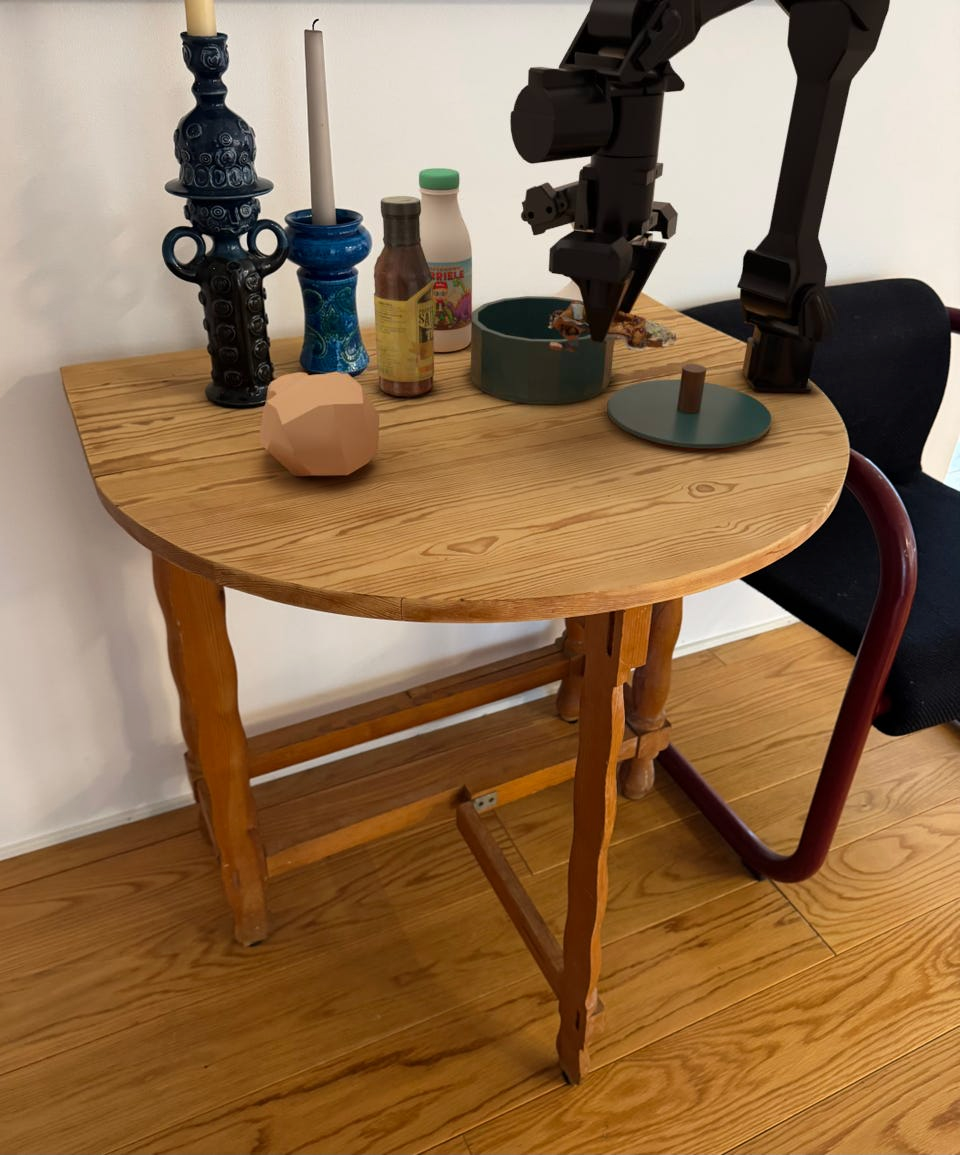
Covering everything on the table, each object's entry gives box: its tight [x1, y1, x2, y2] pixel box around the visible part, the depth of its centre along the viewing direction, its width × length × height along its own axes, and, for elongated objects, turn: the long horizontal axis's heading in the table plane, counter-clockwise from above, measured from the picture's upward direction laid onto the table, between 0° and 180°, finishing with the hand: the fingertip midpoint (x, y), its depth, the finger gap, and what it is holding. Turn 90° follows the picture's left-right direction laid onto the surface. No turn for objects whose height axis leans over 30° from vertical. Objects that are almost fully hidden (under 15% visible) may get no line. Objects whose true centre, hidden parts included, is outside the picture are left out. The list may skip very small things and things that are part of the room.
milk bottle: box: [418, 167, 473, 353], centre depth 112 cm, size 8×8×20 cm
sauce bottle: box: [373, 195, 435, 397], centre depth 100 cm, size 6×6×20 cm
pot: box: [470, 295, 615, 405], centre depth 107 cm, size 16×16×7 cm
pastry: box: [548, 300, 678, 353], centre depth 90 cm, size 7×12×4 cm, turn 89°
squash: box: [257, 371, 380, 477], centre depth 90 cm, size 11×20×9 cm, turn 24°
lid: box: [606, 363, 772, 449], centre depth 98 cm, size 17×17×6 cm
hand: (609, 330), depth 90 cm, fingers closed on pastry, 6 cm apart
